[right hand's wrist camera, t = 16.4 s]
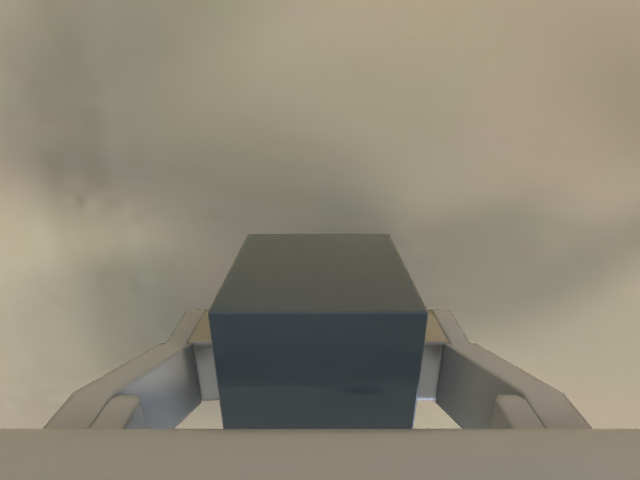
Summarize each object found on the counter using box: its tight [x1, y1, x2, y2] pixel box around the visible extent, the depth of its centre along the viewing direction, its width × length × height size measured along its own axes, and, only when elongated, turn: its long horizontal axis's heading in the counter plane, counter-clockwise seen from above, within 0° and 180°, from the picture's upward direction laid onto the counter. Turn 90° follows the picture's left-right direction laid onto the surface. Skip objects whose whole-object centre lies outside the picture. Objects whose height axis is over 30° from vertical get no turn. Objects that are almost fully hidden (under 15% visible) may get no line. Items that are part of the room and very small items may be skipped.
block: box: [208, 234, 428, 429], centre depth 10 cm, size 4×5×4 cm
